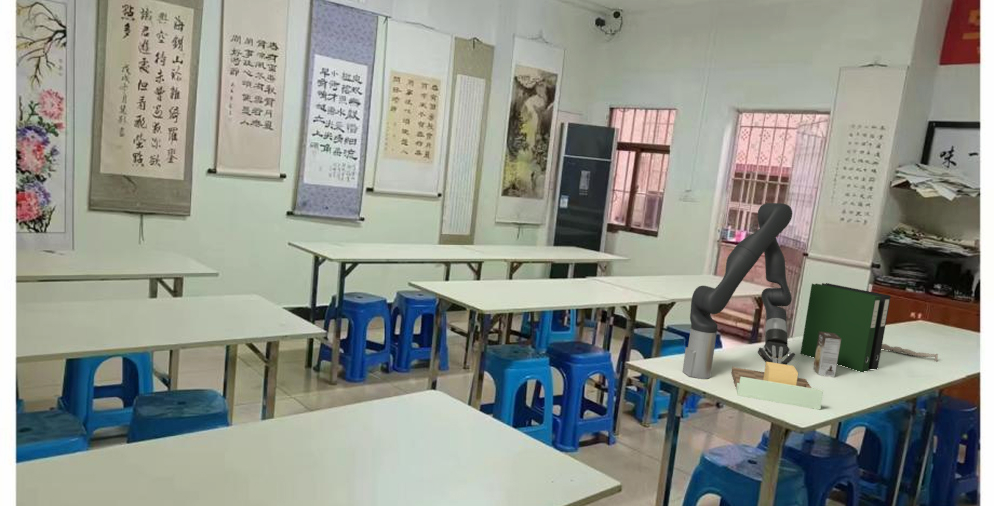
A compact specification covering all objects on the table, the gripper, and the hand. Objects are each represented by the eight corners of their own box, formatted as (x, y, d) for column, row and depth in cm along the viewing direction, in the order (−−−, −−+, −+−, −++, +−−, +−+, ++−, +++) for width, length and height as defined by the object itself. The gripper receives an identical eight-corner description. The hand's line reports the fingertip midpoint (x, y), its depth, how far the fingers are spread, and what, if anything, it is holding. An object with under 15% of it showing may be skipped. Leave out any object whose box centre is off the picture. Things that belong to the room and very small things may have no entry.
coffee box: (812, 368, 271) (818, 330, 269) (828, 371, 270) (835, 333, 268) (818, 375, 262) (824, 336, 260) (835, 377, 261) (842, 338, 259)
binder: (799, 354, 295) (810, 283, 291) (816, 351, 304) (827, 282, 300) (861, 372, 274) (875, 296, 269) (878, 369, 282) (891, 295, 278)
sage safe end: (736, 389, 232) (738, 371, 232) (815, 403, 226) (819, 384, 225) (737, 395, 226) (740, 377, 225) (820, 409, 219) (823, 391, 219)
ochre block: (762, 383, 235) (766, 361, 234) (789, 387, 232) (793, 365, 231) (766, 391, 226) (769, 368, 225) (794, 395, 224) (798, 372, 223)
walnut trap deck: (731, 373, 253) (732, 366, 252) (804, 385, 246) (805, 378, 246) (737, 394, 227) (738, 387, 226) (819, 408, 220) (820, 401, 220)
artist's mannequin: (937, 358, 319) (867, 345, 337) (939, 349, 319) (868, 337, 336) (935, 367, 297) (860, 353, 314) (936, 357, 297) (861, 344, 314)
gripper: (759, 325, 242) (758, 366, 232) (797, 330, 239) (798, 372, 229) (755, 335, 248) (754, 376, 238) (793, 341, 245) (793, 382, 235)
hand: (776, 374), depth 234 cm, fingers closed
